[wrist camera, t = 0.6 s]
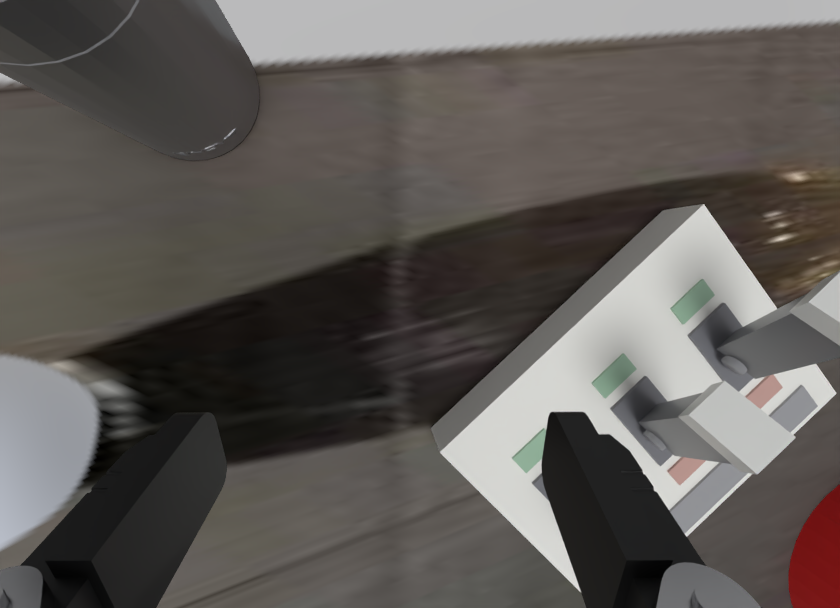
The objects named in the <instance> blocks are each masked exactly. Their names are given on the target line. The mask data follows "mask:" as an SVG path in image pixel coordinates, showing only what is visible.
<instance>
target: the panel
mask: <svg viewBox="0 0 840 608" xmlns="http://www.w3.org/2000/svg"><path fill="white" fill-rule="evenodd" d="M775 310H777V308H776V306H775V305H774V304H773V302H772V301H771V299H770V298H769V296H768V295H767V294H766V292H765V291H764V289H763V288H762V286H761V285H760V284H759V282H758V281H757V279H756V278H755V277H754V275H753V274H752V272H751V271H750V269H749V268H748V267H747V265H746V264H745V262H744V261H743V259H742V258H741V257H740V255H739V254H738V252H737V251H736V249H735V248H734V247H733V245H732V244H731V242H730V241H729V239H728V238H727V237H726V235H725V234H724V232H723V231H722V229H721V228H720V227H719V225H718V224H717V222H716V221H715V220H714V218H713V217H712V215H711V214H710V212H709V211H708V210H707V208H706V207H705V205H704V204H702V205H695V206H688V207H681V208H674V209H668V210H663V211H662V212H661V213H659V214H658V215H657V216H656V217H655V218H654V219H653V220H652V221H651V222H650V223H649V224H648V225H647V226H646V227H645V228H644V229H642V230H641V231H640V232H639V233H638V234H637V235H636V236H635V237H634V238H633V239H632V240H631V241H630V242H629V243H628V244H626V245H625V246H624V247H623V248H622V249H621V250H620V251H619V252H618V253H617V254H616V255H615V256H614V257H613V258H612V259H610V260H609V261H608V262H607V263H606V264H605V265H604V266H603V267H602V268H601V269H600V270H599V271H598V272H597V273H596V274H594V275H593V276H592V277H591V278H590V279H589V280H588V281H587V282H586V283H585V284H584V285H583V286H582V287H581V288H580V289H578V290H577V291H576V292H575V293H574V294H573V295H572V296H571V297H570V298H569V299H568V300H567V301H566V302H565V303H564V304H562V305H561V306H560V307H559V308H558V309H557V310H556V311H555V312H554V313H553V314H552V315H551V316H550V317H549V318H548V319H546V320H545V321H544V322H543V323H542V324H541V325H540V326H539V327H538V328H537V329H536V330H535V331H534V332H533V333H532V334H530V335H529V336H528V337H527V338H526V339H525V340H524V341H523V342H522V343H521V344H520V345H519V346H518V347H517V348H516V349H514V350H513V351H512V352H511V353H510V354H509V355H508V356H507V357H506V358H505V359H504V360H503V361H502V362H501V363H500V364H498V365H497V366H496V367H495V368H494V369H493V370H492V371H491V372H490V373H489V374H488V375H487V376H486V377H485V378H484V379H482V380H481V381H480V382H479V383H478V384H477V385H476V386H475V387H474V388H473V389H472V390H471V391H470V392H469V393H468V394H466V395H465V396H464V397H463V398H462V399H461V400H460V401H459V402H458V403H457V404H456V405H455V406H454V407H453V408H452V409H450V410H449V411H448V412H447V413H446V414H445V415H444V416H443V417H442V418H441V419H440V420H439V421H438V422H437V423H436V424H434V425H433V426H432V427H431V430H432V433H433V436H434V438H435V441H436V444H437V446H438V449H439V452H440V453H441V454H442V455H443V456H444V457H445V458H446V459H447V460H448V461H449V462H450V463H451V464H452V465H453V466H454V467H455V468H456V469H457V470H458V471H459V472H460V473H461V474H462V475H463V476H464V477H465V478H466V479H467V480H468V481H469V482H470V483H471V484H472V485H473V486H474V487H475V488H476V489H477V490H478V491H479V492H480V493H481V494H482V495H483V496H484V497H485V498H486V499H487V500H488V501H489V502H490V503H491V504H492V505H493V506H494V507H495V508H496V509H497V510H498V511H499V512H500V513H501V514H502V515H503V516H504V517H505V518H506V519H507V520H508V521H509V522H510V523H511V524H512V525H513V526H514V527H515V528H516V529H517V530H519V531H520V532H521V533H522V534H523V535H524V536H525V537H526V538H527V539H528V540H529V541H530V542H531V543H532V544H533V545H534V546H535V547H536V548H537V549H538V550H539V551H540V552H541V553H542V554H543V555H544V556H545V557H546V558H547V559H548V560H549V561H550V562H551V563H552V564H553V565H554V566H555V567H556V568H557V569H558V570H559V571H560V572H561V573H562V574H563V575H564V576H565V577H566V578H567V579H568V580H569V581H570V582H571V583H572V584H573V585H574V586H575V587H576V588H577V589H578V590H579V591H580V588H579V585H578V582H577V579H576V576H575V573H574V571H573V568H572V565H571V562H570V559H569V556H568V554H567V551H566V548H565V545H564V542H563V539H562V536H561V534H560V531H559V528H558V525H557V522H556V519H555V516H554V514H553V511H552V508H551V505H550V502H549V499H548V497H547V494H546V491H545V488H544V484H543V478H542V466H541V465H542V455H543V449H544V442H545V435H546V429H547V422H548V417H549V414H550V413H551V412H585V413H586V414H587V416H588V417H589V419H590V421H591V422H592V424H593V426H594V427H595V429H596V431H597V432H598V434H610V435H611V436H613V437H614V438H615V439H616V440H617V441H619V442H620V443H621V444H622V445H623V446H625V447H626V448H627V449H628V450H629V451H630V452H631V453H632V455H633V456H634V458H635V459H636V461H637V463H638V464H639V466H640V467H641V469H642V470H643V474H645V475H646V476H647V478H648V479H649V481H650V482H651V484H652V485H653V487H654V491H655V492H657V493H658V494H659V496H660V497H661V499H662V500H663V502H664V503H665V505H666V506H667V508H668V510H669V511H670V513H671V514H672V516H673V517H674V519H675V520H676V522H677V523H678V525H679V526H680V528H681V529H682V531H683V532H684V534H685V535H686V537H687V536H688V535H689V534H690V533H691V532H692V531H693V530H694V529H695V528H696V527H697V526H698V525H699V524H700V523H702V522H703V521H704V520H705V519H706V518H707V517H708V516H709V515H710V514H711V513H712V512H713V511H714V510H715V509H716V508H717V507H718V506H719V505H720V504H721V503H722V502H723V501H725V500H726V499H727V498H728V497H729V496H730V495H731V494H732V493H733V492H734V491H735V490H736V489H737V488H738V487H739V486H740V485H741V484H742V483H743V482H744V481H745V480H746V479H748V478H749V477H750V476H751V475H752V473H746V472H740V471H739V470H738V469H737V468H736V467H735V466H733V465H732V464H727V463H720V462H714V461H707V460H700V459H693V458H686V457H679V456H674V455H673V454H672V453H671V452H670V451H668V450H667V449H666V448H665V449H664V450H663V451H662V450H660V449H658V448H657V447H656V446H655V445H653V444H652V443H651V442H650V441H649V440H648V439H647V438H646V437H645V436H644V434H643V433H644V432H645V431H646V429H645V428H644V427H643V426H642V425H640V424H639V423H638V422H639V421H641V420H642V419H643V418H644V417H645V416H646V415H647V414H648V413H649V412H650V411H651V410H652V409H653V408H654V407H655V406H656V405H657V404H660V403H664V402H668V401H672V400H676V399H680V398H683V397H687V396H691V395H695V394H699V393H703V392H704V391H705V390H706V389H707V388H708V387H709V386H710V385H712V384H715V383H719V382H722V381H726V382H727V383H728V384H730V385H731V386H732V387H733V388H735V389H736V390H737V391H738V392H740V393H741V394H742V395H743V396H745V397H746V398H747V399H748V400H750V401H751V402H752V403H753V404H755V405H756V406H757V407H758V408H760V409H761V410H762V411H763V412H765V413H766V414H767V415H768V416H770V417H771V418H772V419H773V420H775V421H776V422H777V423H778V424H780V425H781V426H782V427H784V428H785V429H786V430H787V431H789V432H790V433H791V434H792V435H794V434H795V433H796V432H797V431H798V430H799V429H800V428H801V427H802V426H803V425H804V424H805V423H806V422H807V421H808V420H809V419H810V418H811V417H812V416H813V415H814V414H815V413H817V412H818V411H819V410H820V409H821V408H822V407H823V406H824V405H825V404H826V403H827V402H828V401H829V400H830V399H831V398H832V397H833V396H834V395H835V394H836V392H835V390H834V389H833V388H832V386H831V385H830V383H829V382H828V380H827V379H826V378H825V376H824V375H823V373H822V372H821V371H820V369H819V368H818V366H817V365H816V364H813V365H809V366H805V367H801V368H797V369H793V370H789V371H785V372H781V373H777V374H773V375H769V376H766V377H762V378H758V379H755V378H753V377H752V376H751V375H749V374H748V373H747V372H746V373H745V374H743V375H739V374H736V373H734V372H732V371H731V370H729V369H728V368H727V367H725V366H724V364H723V363H722V361H721V359H722V358H723V357H724V356H725V355H723V354H722V353H721V352H719V351H718V350H717V348H718V347H719V346H720V345H721V344H722V343H723V342H724V341H725V340H726V339H728V338H729V337H730V336H731V335H732V334H733V333H734V332H735V331H736V330H738V329H740V328H742V327H744V326H746V325H748V324H750V323H752V322H753V321H755V320H757V319H759V318H761V317H763V316H765V315H767V314H769V313H771V312H773V311H775ZM580 592H581V591H580Z"/></svg>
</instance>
